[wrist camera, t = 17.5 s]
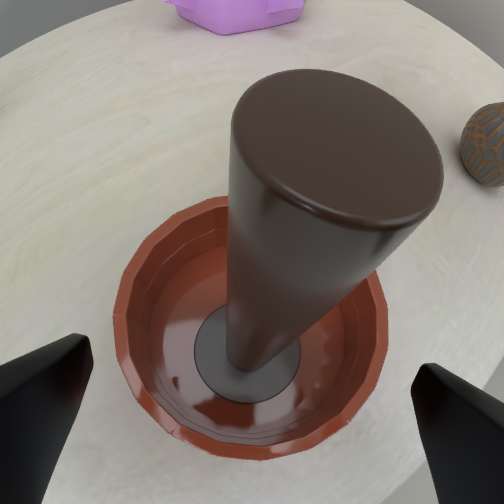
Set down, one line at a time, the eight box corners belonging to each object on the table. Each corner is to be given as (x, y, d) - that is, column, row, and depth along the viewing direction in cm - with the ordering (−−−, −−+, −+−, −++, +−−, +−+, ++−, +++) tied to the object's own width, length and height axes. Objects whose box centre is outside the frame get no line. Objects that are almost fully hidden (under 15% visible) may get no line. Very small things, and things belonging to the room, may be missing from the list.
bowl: (373, 286, 18) (411, 254, 14) (303, 471, 13) (330, 495, 9) (202, 211, 19) (197, 162, 15) (106, 379, 14) (67, 370, 10)
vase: (508, 207, 22) (562, 152, 14) (457, 184, 22) (512, 115, 15) (492, 156, 25) (533, 101, 17) (443, 132, 25) (483, 67, 18)
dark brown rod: (302, 395, 14) (584, 344, 2) (200, 407, 14) (24, 474, 1) (289, 300, 16) (429, 45, 4) (192, 309, 16) (114, 26, 3)
